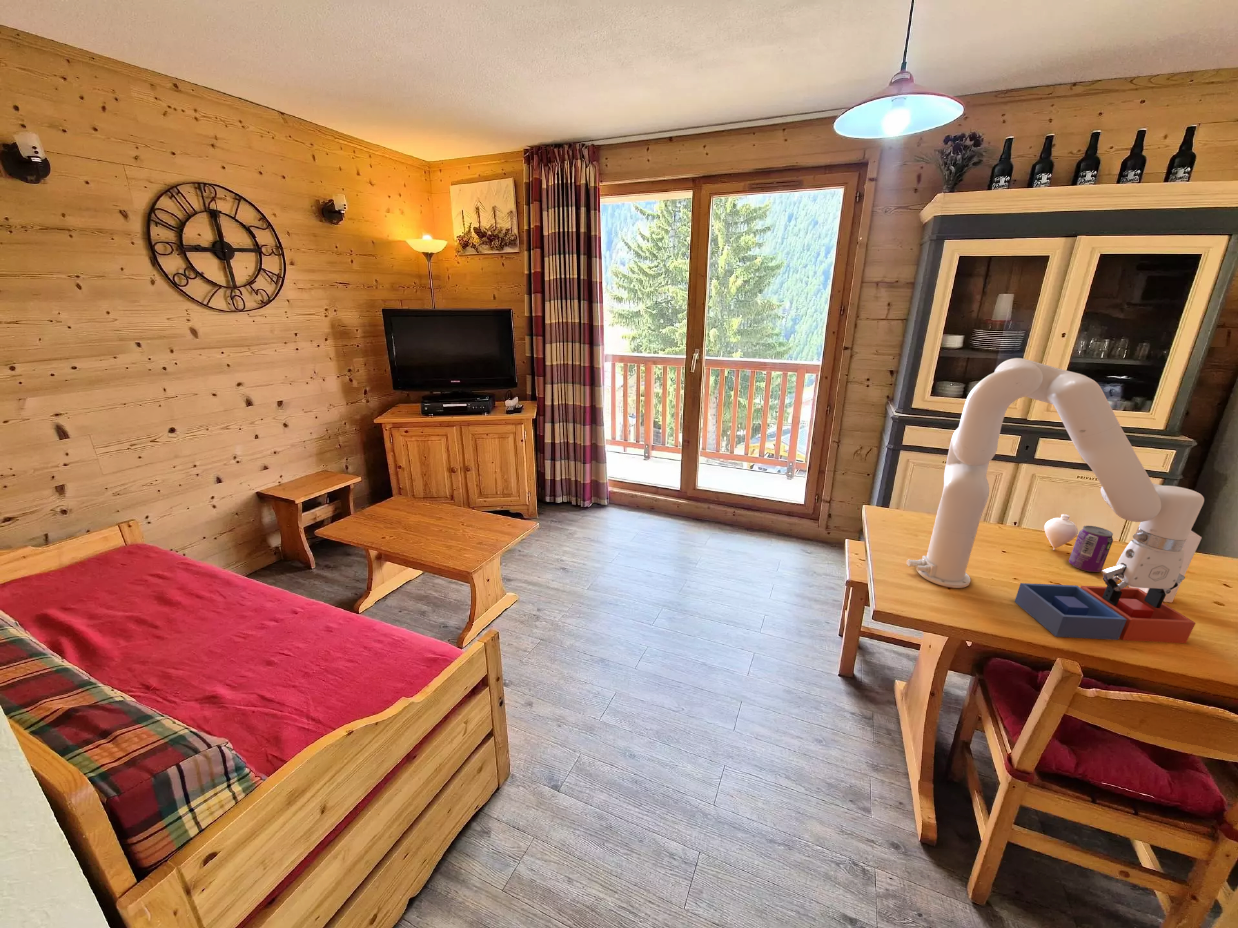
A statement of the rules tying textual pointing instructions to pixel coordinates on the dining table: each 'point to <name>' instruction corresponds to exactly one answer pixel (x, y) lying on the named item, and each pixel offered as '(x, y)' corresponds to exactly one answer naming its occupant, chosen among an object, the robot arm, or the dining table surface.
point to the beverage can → (1091, 548)
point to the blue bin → (1093, 625)
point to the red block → (1134, 608)
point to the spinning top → (1060, 530)
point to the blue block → (1069, 606)
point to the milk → (1189, 552)
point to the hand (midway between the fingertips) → (1130, 603)
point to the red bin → (1158, 628)
